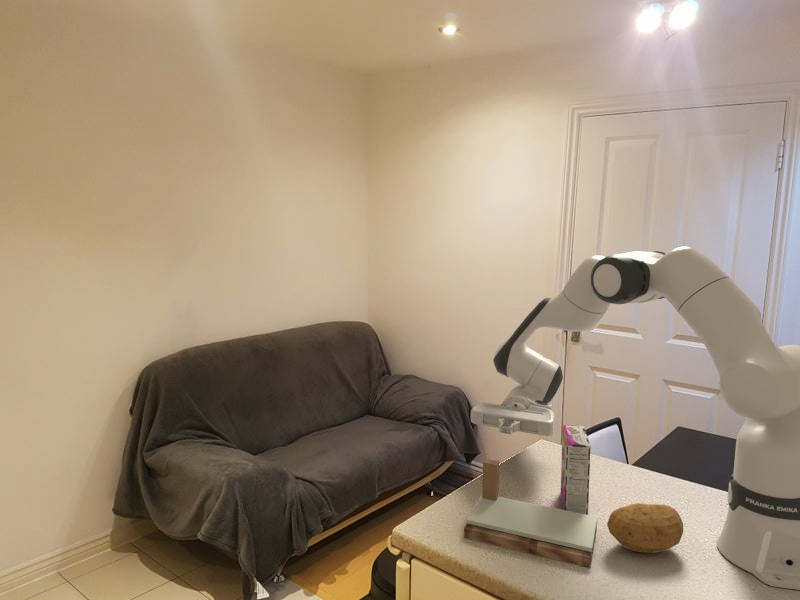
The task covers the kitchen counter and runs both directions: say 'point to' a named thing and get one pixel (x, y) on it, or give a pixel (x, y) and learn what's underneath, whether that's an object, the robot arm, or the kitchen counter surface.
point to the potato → (646, 527)
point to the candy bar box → (575, 469)
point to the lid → (529, 516)
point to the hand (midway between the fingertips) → (505, 430)
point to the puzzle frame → (530, 545)
